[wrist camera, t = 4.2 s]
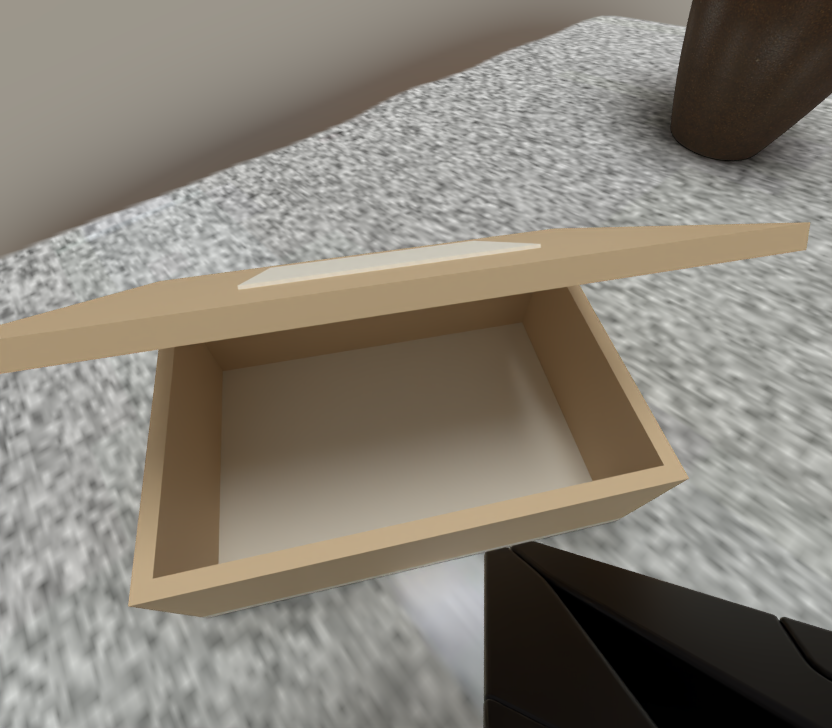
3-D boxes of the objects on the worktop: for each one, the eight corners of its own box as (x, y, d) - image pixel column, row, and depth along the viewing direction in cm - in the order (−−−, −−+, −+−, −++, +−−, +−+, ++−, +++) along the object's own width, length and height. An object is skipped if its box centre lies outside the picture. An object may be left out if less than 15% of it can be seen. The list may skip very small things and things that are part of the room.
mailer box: (616, 520, 20) (689, 478, 15) (207, 618, 17) (128, 606, 12) (525, 319, 26) (554, 241, 21) (215, 369, 24) (164, 295, 19)
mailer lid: (806, 250, 10) (811, 218, 10) (-90, 387, 7) (-110, 348, 7) (554, 241, 21) (553, 226, 21) (164, 295, 19) (159, 278, 19)
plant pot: (622, 169, 35) (758, -128, 22) (625, 83, 43) (726, -174, 29) (823, 205, 33) (1110, -96, 20) (788, 108, 41) (976, -154, 28)
